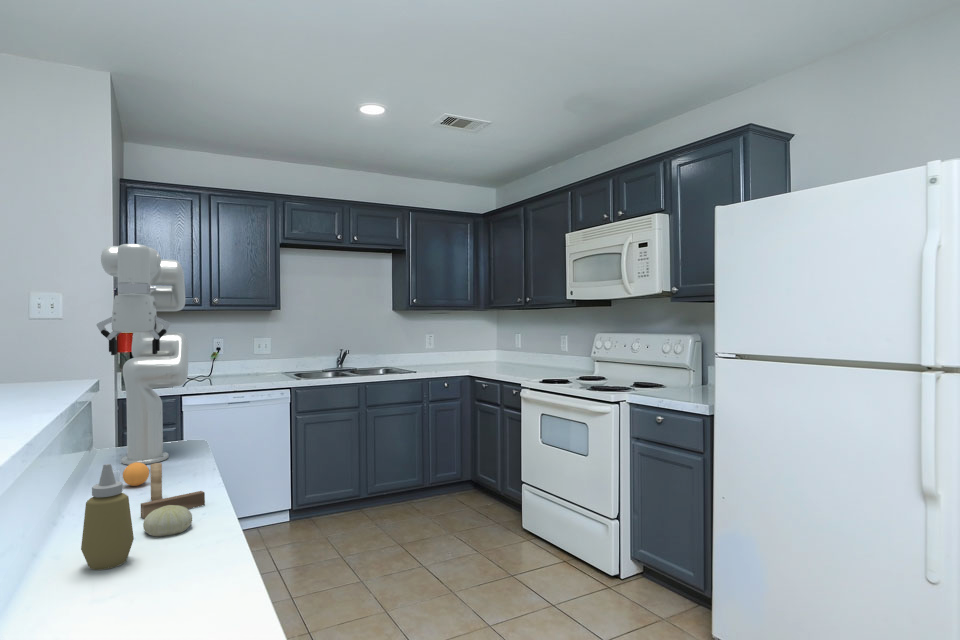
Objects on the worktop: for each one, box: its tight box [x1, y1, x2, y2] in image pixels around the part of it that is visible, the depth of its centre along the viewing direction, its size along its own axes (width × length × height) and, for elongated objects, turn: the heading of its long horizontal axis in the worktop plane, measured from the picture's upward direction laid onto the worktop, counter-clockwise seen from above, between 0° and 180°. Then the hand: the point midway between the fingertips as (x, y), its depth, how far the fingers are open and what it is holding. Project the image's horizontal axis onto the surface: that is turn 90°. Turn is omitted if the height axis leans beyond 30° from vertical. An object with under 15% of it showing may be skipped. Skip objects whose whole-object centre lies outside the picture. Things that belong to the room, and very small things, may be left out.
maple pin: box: [150, 462, 163, 501], centre depth 144 cm, size 2×2×8 cm
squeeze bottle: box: [80, 463, 135, 571], centre depth 107 cm, size 8×8×18 cm
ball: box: [122, 462, 150, 487], centre depth 155 cm, size 6×6×6 cm
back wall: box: [140, 490, 206, 520], centre depth 135 cm, size 2×13×3 cm, turn 135°
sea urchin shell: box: [142, 505, 193, 538], centre depth 123 cm, size 9×8×8 cm
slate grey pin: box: [112, 469, 121, 482], centre depth 137 cm, size 2×2×8 cm
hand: (134, 354), depth 159 cm, fingers open, 9 cm apart
